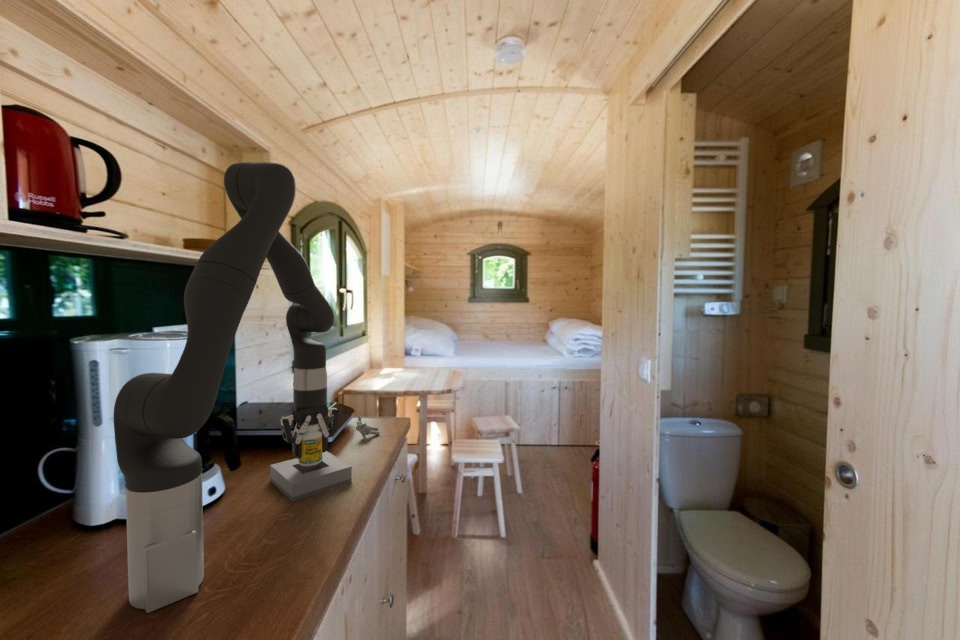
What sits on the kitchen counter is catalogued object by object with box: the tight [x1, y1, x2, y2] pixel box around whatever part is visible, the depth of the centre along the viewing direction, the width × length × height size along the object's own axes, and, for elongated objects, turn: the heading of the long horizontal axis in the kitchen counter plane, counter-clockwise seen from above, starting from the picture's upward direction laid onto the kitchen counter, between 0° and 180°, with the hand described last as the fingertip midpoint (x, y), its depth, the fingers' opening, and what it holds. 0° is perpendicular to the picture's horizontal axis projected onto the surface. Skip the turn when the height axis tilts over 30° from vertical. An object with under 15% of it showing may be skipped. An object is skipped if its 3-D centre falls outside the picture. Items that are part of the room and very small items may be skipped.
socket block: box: [269, 450, 353, 503], centre depth 100 cm, size 14×14×4 cm
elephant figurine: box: [355, 415, 381, 444], centre depth 132 cm, size 10×6×9 cm
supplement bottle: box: [299, 423, 322, 466], centre depth 99 cm, size 5×5×10 cm
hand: (310, 454), depth 100 cm, fingers closed on supplement bottle, 5 cm apart
